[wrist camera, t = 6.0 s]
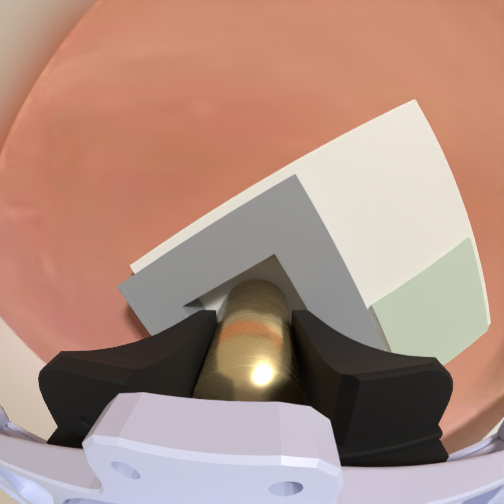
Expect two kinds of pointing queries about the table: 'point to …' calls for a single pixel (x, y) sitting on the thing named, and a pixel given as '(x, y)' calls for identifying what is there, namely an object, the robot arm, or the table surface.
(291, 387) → the brass cylinder
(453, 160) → the table surface
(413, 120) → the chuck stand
